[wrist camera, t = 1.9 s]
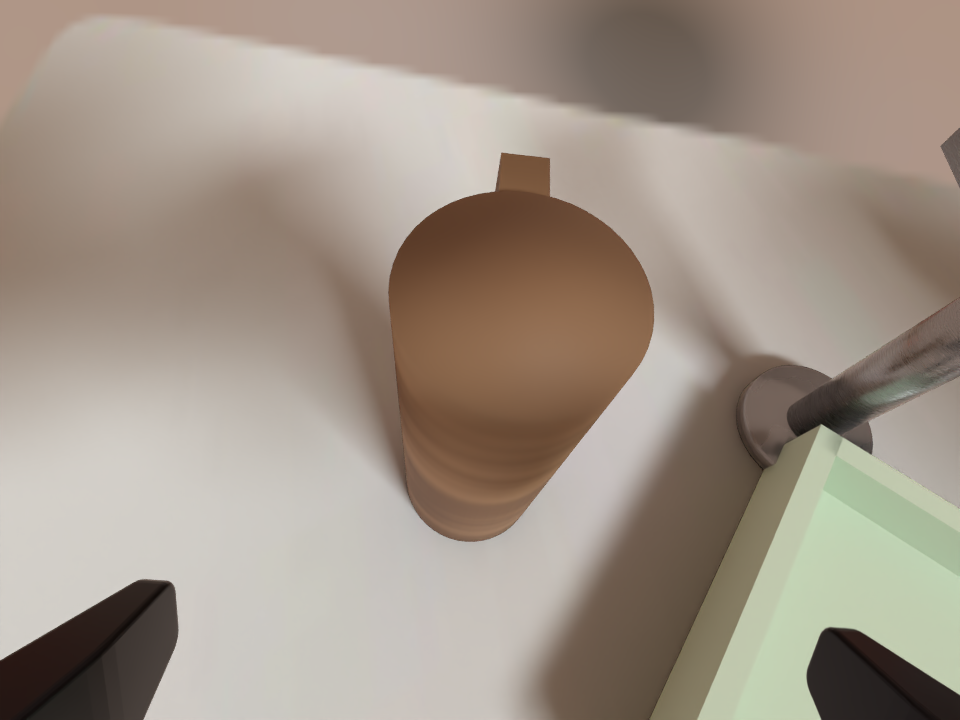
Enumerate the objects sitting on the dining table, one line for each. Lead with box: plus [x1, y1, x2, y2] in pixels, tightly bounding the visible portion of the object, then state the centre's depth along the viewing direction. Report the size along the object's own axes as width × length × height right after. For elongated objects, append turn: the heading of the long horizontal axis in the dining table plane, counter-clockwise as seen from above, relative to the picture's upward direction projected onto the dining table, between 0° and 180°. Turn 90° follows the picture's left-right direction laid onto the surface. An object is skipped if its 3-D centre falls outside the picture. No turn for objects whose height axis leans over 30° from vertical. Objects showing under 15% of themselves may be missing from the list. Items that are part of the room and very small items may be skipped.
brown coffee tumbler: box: [388, 153, 654, 542], centre depth 15 cm, size 6×5×12 cm
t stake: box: [736, 128, 960, 469], centre depth 18 cm, size 8×5×11 cm, turn 176°
